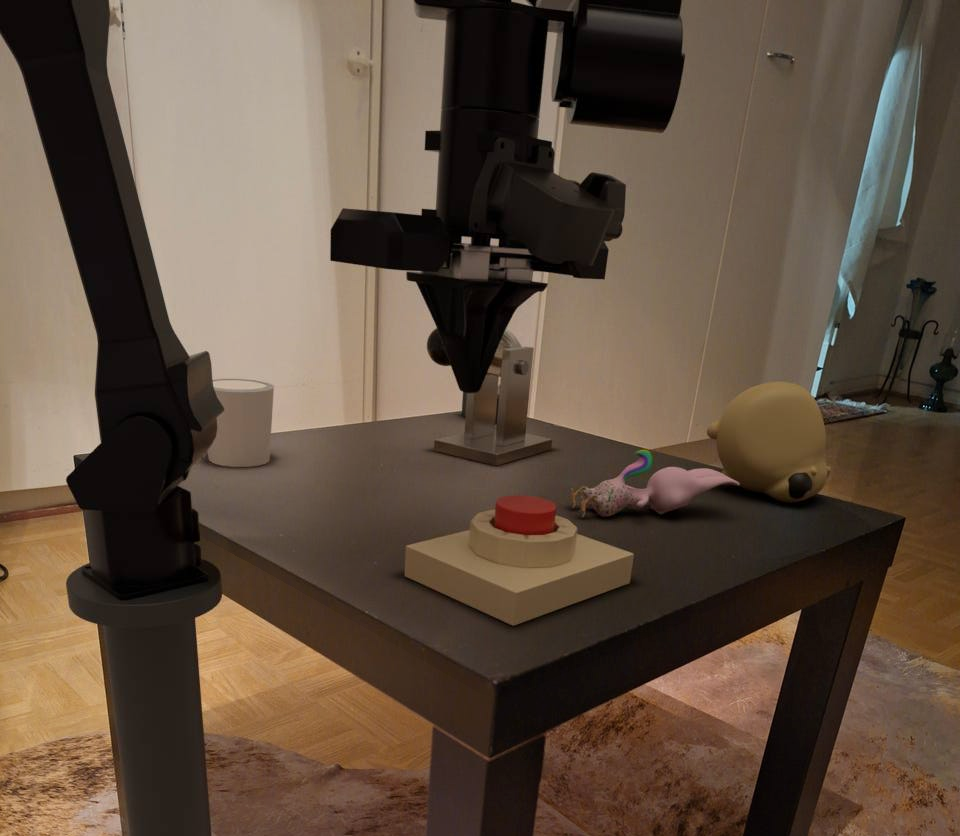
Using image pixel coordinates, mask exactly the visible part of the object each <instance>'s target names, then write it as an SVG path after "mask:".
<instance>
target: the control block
mask: <svg viewBox="0 0 960 836" xmlns="http://www.w3.org/2000/svg"><path fill="white" fill-rule="evenodd" d="M494 519H495V508H494V509H490V510H485V511H481V512H478V513H476V515H474V517H472V519H470V525H469V526H470V527H469V529H468V530H464V531H460V532H456V533H451V534H448V535H447V534H446V535H443V536H439V537H435V538H432V539H428V540H422V541H419V542H415V543H411V544H407V545H405V555H404V556H405V557H404V577H405V578H408V579H410V580H412V581H415V582H417V583H419V584H421V585H423V586H425V587H426V588H430V589H432V590H434V591H436V592H438V593H440V594H443V595H445V596H446V597H449V598H451V599H453V600H455V601H458V602H460V603H462V604H464V605H466V606H469V607H471V608H473V609H475V610H476V611H479V612H482V613H484V614H486V615H488V616H490V617H492V618H495V619H497V620H499V621H501V622H503V623H506V624H508V625H510V626H512V627H514V626H517V625H519V624H522V623H526V622H528V621H531V620H533V619H536V618H539V617H541V616H544V615H547V614H550V613H553V612H555V611H558V610H560V609H563V608H566V607H569V606H572V605H574V604H578V603H579V602H583V601H585V600H588V599H590V598H593V597H596V596H599V595H601V594H604V593H607V592H609V591H612V590H615V589H618V588H621V587H624V586H626V585H629V584H630V583H631V579H632V571H633V565H634V564H633V563H634V558H635V553H634V552H631V551H628V550H624V549H623V548H622V549H621V548H619V547H617V546H613V545H611V544H608V543H604V542H603V541H599V540H596V539H593V538H591V537H587V536H585V535H582V534H579V533H578V527H577V526H576V525H575V524H574V523H573V522H571V521H570V520H569V519H567V518H565V517H562V516H559V515H556V517H555V526H554V532H553V533H550V534H546V535H521V534H514V533H507V532H504V531H501V530H499V529H496V528H494Z"/></svg>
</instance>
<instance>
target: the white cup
mask: <svg viewBox="0 0 960 836" xmlns="http://www.w3.org/2000/svg"><path fill="white" fill-rule="evenodd" d="M212 380H213V387H214V390H215V393H216V395H217V398H218V399H219V401H220V402H221V404H222V405H223V407H224V411H223V412H222V413H221V414H220V415H219V416H218V417H217V433H216V438H215V439H214V441H213V443H212V445H211V446H210V448H209V449H208V451H207V457H208V461H209V462H211V463H212V464H214V465H218V466H221V467H222V466H223V467H229V468H230V467H231V468H250V467H258V466H263V465H266V464H268V463H270V458H271V445H272V443H271V442H272V441H271V440H272V427H273V426H272V424H273V406H274V393H275V392H274V391H275V385H273V384H272V383H269V382H266V381H260V380H253V379H245V378H218V379H212Z"/></svg>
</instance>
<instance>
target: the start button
mask: <svg viewBox="0 0 960 836" xmlns="http://www.w3.org/2000/svg"><path fill="white" fill-rule="evenodd" d="M494 509H495V519H494V528H496V529H499V530H501V531H504V532H507V533H514V534H521V535H546V534H550V533H553V532H554V526H555V517H556V516H557V505H556V503H554V502H552V501H551V500H548V499H546V498H542V497H538V496H534V495H533V496H531V495H521V494H520V495H518V494H517V495H516V494H515V495H506V496H501V497H499V498H498V499H496V501H495V508H494Z"/></svg>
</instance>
